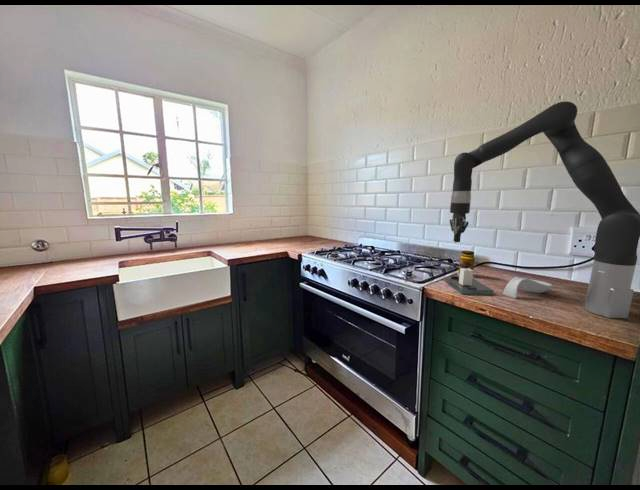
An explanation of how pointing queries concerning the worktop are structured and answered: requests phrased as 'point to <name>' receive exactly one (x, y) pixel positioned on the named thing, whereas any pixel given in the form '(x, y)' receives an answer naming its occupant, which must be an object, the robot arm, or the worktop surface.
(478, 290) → the plate
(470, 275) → the block
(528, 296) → the worktop surface
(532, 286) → the spoon rest
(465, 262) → the condiment
